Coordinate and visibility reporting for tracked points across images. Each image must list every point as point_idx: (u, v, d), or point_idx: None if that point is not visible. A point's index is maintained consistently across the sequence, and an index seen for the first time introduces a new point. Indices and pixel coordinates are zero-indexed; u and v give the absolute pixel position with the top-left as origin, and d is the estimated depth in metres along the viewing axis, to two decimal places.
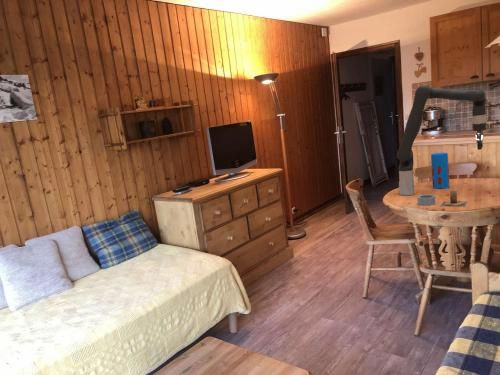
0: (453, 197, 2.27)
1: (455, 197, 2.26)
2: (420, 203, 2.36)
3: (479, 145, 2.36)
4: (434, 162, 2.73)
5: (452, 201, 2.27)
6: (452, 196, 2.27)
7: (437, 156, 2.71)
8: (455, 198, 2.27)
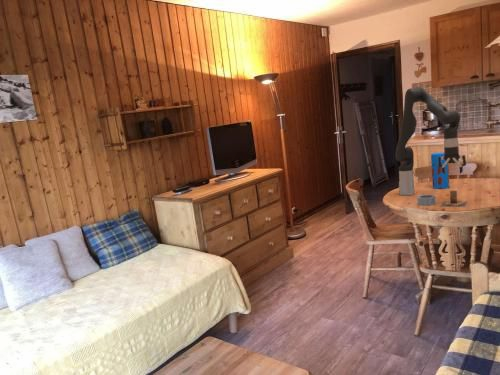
0: (453, 197, 2.27)
1: (455, 197, 2.26)
2: (420, 203, 2.36)
3: (462, 168, 2.23)
4: (434, 162, 2.73)
5: (452, 201, 2.27)
6: (452, 196, 2.27)
7: (437, 156, 2.71)
8: (455, 198, 2.27)
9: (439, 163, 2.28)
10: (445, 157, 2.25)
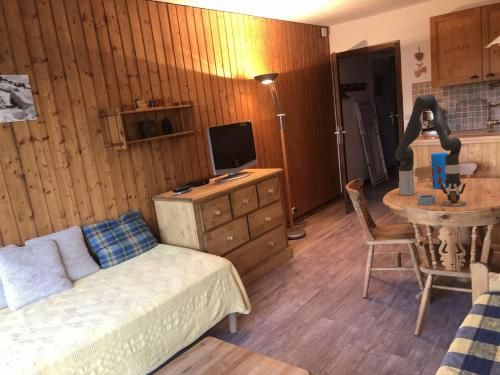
0: (453, 197, 2.27)
1: (455, 197, 2.26)
2: (420, 203, 2.36)
3: (459, 196, 2.26)
4: (434, 162, 2.73)
5: (452, 201, 2.27)
6: (452, 196, 2.27)
7: (437, 156, 2.71)
8: (455, 198, 2.27)
9: (443, 190, 2.29)
10: (446, 183, 2.28)
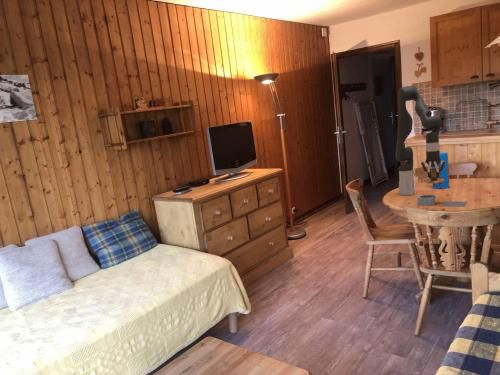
0: (433, 174, 2.31)
1: (435, 174, 2.31)
2: (420, 203, 2.36)
3: None
4: None
5: (432, 178, 2.32)
6: (432, 174, 2.31)
7: None
8: (435, 175, 2.31)
9: (424, 168, 2.34)
10: (427, 161, 2.32)
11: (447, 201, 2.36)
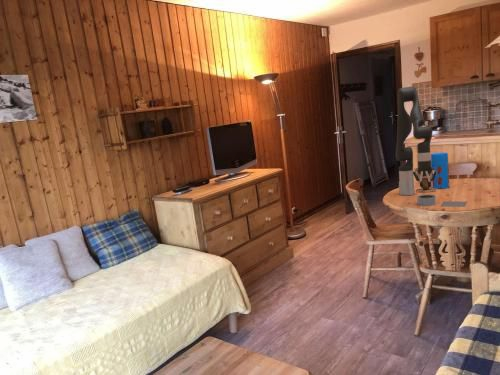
0: (425, 184, 2.34)
1: (427, 184, 2.34)
2: (420, 203, 2.36)
3: None
4: (434, 162, 2.73)
5: (424, 188, 2.35)
6: (424, 183, 2.34)
7: (437, 156, 2.71)
8: (427, 185, 2.34)
9: (416, 178, 2.37)
10: (418, 170, 2.35)
11: (447, 201, 2.36)
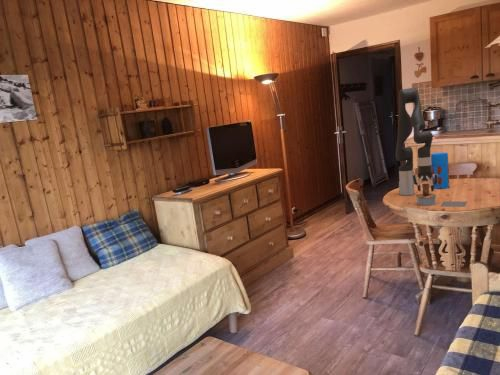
0: (425, 190, 2.35)
1: (427, 190, 2.35)
2: (420, 203, 2.36)
3: (433, 186, 2.33)
4: (434, 162, 2.73)
5: (424, 194, 2.35)
6: (424, 189, 2.35)
7: (437, 156, 2.71)
8: (427, 191, 2.35)
9: (414, 181, 2.38)
10: (419, 175, 2.36)
11: (447, 201, 2.36)
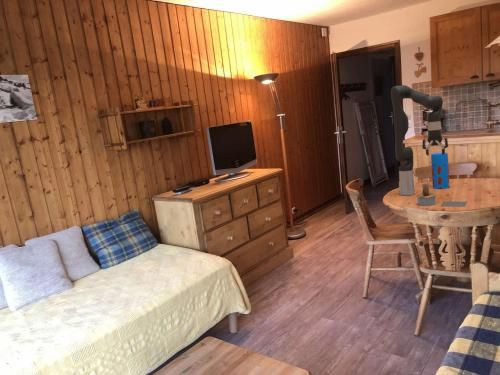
0: (425, 190, 2.35)
1: (427, 190, 2.35)
2: (420, 203, 2.36)
3: (444, 150, 2.36)
4: (434, 162, 2.73)
5: (424, 194, 2.35)
6: (424, 189, 2.35)
7: (437, 156, 2.71)
8: (427, 191, 2.35)
9: (423, 145, 2.41)
10: (429, 140, 2.38)
11: (447, 201, 2.36)
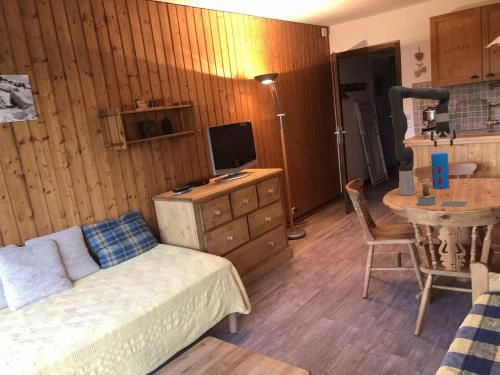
0: (425, 190, 2.35)
1: (427, 190, 2.35)
2: (420, 203, 2.36)
3: (452, 141, 2.40)
4: (434, 162, 2.73)
5: (424, 194, 2.35)
6: (424, 189, 2.35)
7: (437, 156, 2.71)
8: (427, 191, 2.35)
9: (431, 137, 2.45)
10: (437, 131, 2.42)
11: (447, 201, 2.36)
